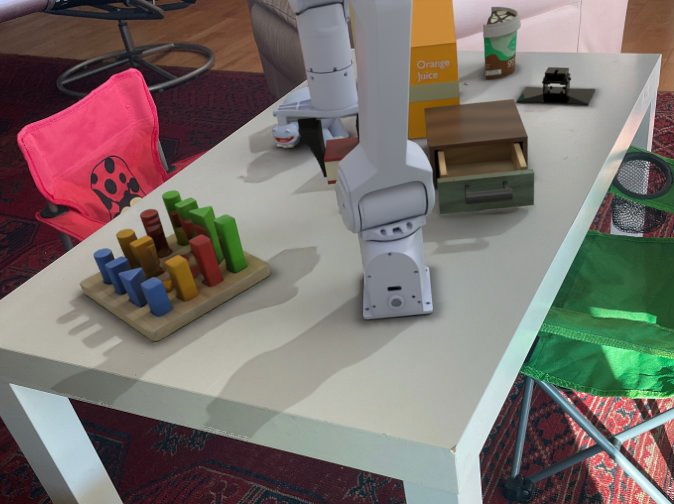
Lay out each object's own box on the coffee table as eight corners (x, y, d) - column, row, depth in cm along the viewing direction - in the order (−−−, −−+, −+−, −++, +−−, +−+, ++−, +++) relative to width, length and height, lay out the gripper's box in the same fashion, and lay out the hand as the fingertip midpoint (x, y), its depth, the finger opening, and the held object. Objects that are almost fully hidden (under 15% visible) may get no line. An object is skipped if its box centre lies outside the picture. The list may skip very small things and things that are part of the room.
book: (362, 181, 95) (358, 155, 93) (328, 184, 95) (323, 159, 93) (363, 160, 100) (359, 136, 98) (330, 164, 100) (326, 139, 98)
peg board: (81, 293, 95) (54, 234, 90) (195, 235, 104) (177, 178, 99) (155, 343, 86) (129, 280, 80) (273, 274, 95) (258, 214, 89)
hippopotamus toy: (258, 161, 122) (244, 103, 116) (304, 124, 132) (293, 69, 126) (315, 167, 118) (303, 108, 112) (358, 129, 128) (349, 72, 122)
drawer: (538, 219, 98) (539, 186, 95) (441, 229, 98) (439, 196, 95) (519, 162, 111) (519, 131, 108) (434, 171, 111) (432, 141, 108)
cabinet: (527, 178, 108) (527, 136, 104) (432, 188, 109) (428, 146, 105) (514, 138, 119) (513, 98, 115) (427, 147, 120) (424, 108, 116)
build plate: (516, 103, 131) (516, 76, 128) (526, 88, 136) (526, 62, 133) (588, 105, 127) (589, 77, 124) (595, 90, 132) (596, 63, 129)
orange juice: (407, 121, 129) (394, -5, 116) (458, 115, 129) (451, -11, 116) (408, 139, 123) (395, 8, 110) (462, 134, 123) (454, 2, 110)
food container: (517, 81, 139) (517, 24, 132) (484, 82, 140) (482, 25, 133) (524, 59, 148) (524, 4, 141) (493, 60, 149) (491, 5, 142)
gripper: (389, 48, 92) (401, 153, 100) (272, 60, 92) (294, 164, 101) (389, 67, 86) (402, 176, 95) (265, 80, 87) (289, 188, 95)
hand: (346, 171), depth 97 cm, fingers closed on book, 4 cm apart
